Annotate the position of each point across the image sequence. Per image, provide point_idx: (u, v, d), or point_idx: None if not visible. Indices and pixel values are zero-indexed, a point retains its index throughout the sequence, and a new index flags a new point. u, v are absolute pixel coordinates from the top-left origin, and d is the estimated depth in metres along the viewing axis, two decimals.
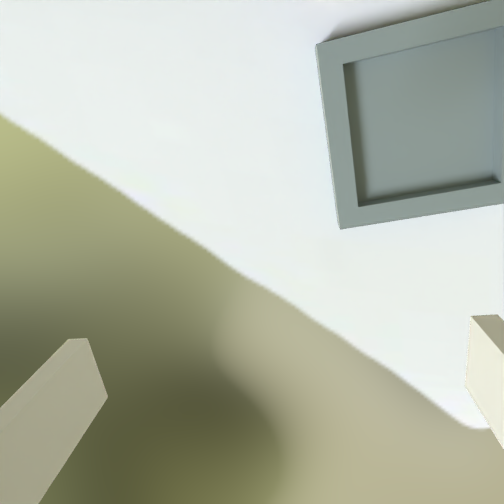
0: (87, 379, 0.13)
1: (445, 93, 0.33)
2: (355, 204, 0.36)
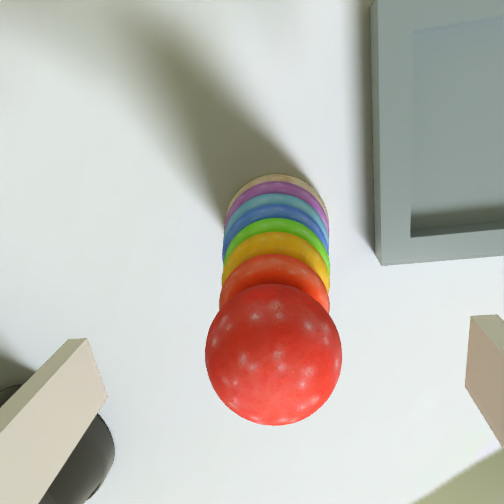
0: (87, 379, 0.13)
1: (472, 95, 0.23)
2: None
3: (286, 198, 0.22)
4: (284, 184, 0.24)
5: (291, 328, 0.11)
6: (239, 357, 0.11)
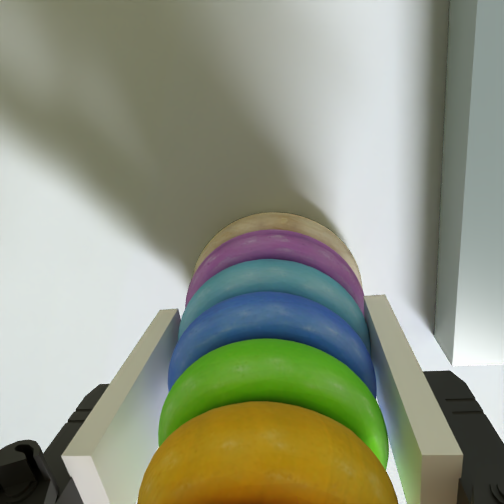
0: None
1: None
2: None
3: (292, 273, 0.12)
4: (289, 238, 0.13)
5: None
6: None
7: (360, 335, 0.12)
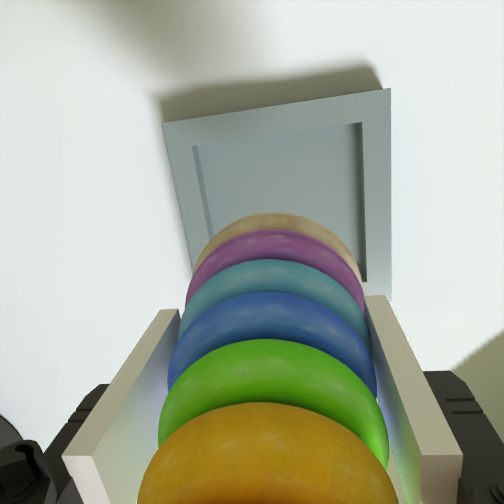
0: None
1: (254, 187, 0.30)
2: (363, 284, 0.31)
3: (292, 273, 0.11)
4: (289, 238, 0.13)
5: None
6: None
7: (360, 335, 0.12)
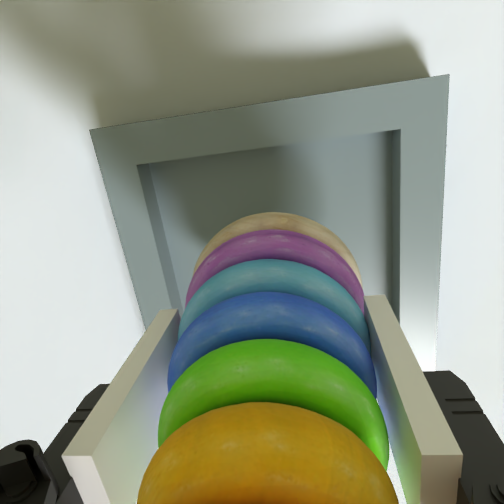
0: None
1: None
2: None
3: (292, 273, 0.11)
4: (289, 238, 0.13)
5: None
6: None
7: (360, 335, 0.12)
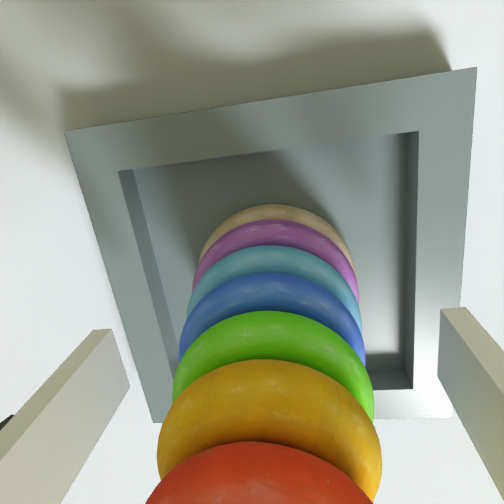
0: (112, 368, 0.13)
1: None
2: (407, 392, 0.19)
3: (290, 257, 0.13)
4: (287, 226, 0.14)
5: None
6: None
7: (351, 313, 0.13)
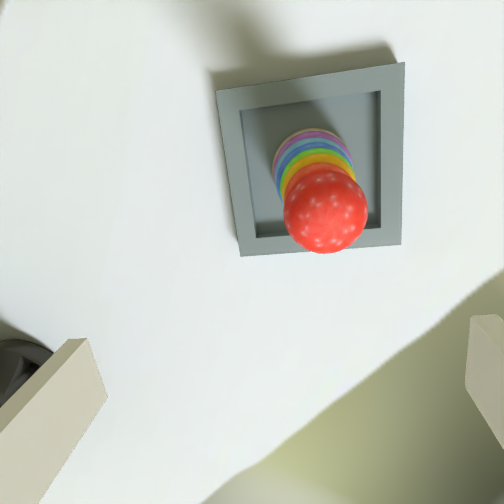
0: (87, 379, 0.13)
1: None
2: (378, 230, 0.37)
3: (323, 140, 0.31)
4: (321, 132, 0.32)
5: (340, 185, 0.20)
6: (310, 200, 0.20)
7: None
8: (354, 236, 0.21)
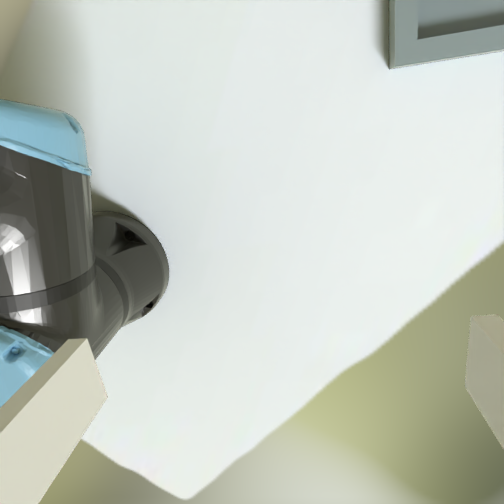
0: (87, 379, 0.13)
1: None
2: None
3: None
4: None
5: None
6: None
7: None
8: None
